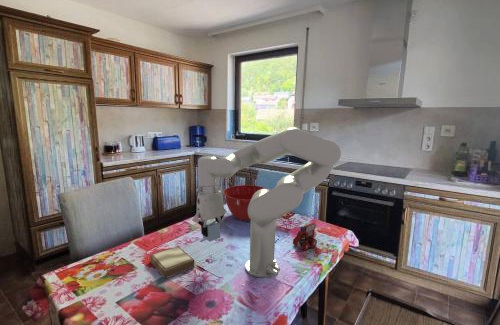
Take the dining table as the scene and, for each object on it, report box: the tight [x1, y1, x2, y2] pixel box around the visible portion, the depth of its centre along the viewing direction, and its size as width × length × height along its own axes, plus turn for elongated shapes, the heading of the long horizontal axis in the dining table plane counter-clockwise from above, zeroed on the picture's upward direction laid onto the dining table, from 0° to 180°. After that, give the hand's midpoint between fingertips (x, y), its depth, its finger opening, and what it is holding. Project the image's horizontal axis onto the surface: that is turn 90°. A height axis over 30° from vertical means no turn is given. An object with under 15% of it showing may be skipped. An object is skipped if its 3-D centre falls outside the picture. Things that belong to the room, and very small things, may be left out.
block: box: [202, 219, 221, 242], centre depth 103 cm, size 5×5×6 cm
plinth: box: [149, 245, 195, 279], centre depth 104 cm, size 14×12×3 cm
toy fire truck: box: [292, 222, 318, 251], centre depth 120 cm, size 7×12×10 cm, turn 128°
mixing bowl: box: [222, 184, 270, 222], centre depth 154 cm, size 28×28×15 cm
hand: (211, 233), depth 103 cm, fingers closed on block, 4 cm apart
